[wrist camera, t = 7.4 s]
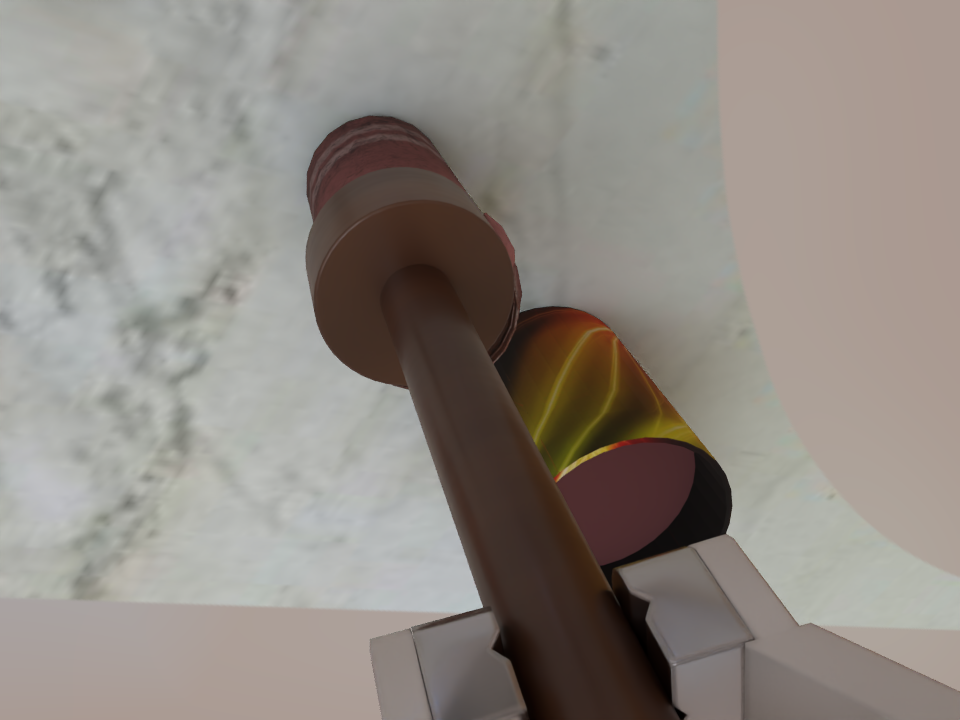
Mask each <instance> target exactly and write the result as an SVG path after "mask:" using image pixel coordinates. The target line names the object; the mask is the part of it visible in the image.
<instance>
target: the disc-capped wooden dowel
mask: <svg viewBox="0 0 960 720" xmlns="http://www.w3.org/2000/svg"><path fill="white" fill-rule="evenodd" d="M306 270H307V276H308V281H309V286H310V291H311V296H312V302H313V307H314V312H315V317H316V322H317V325H318V327H319V330H320V333H321V335H322V337H323V339H324V341H325V342H326V344H327V345H328V347H329V348H330V350H331V351H332V352H333V354H334V355H335V356H336V357H337V358H338V359H339V360H340V361H341V362H342V363H344V364H345V365H346V366H348V367H349V368H350V369H352V370H353V371H355V372H357V373H359V374H360V375H362V376H365V377H367V378H369V379H372V380H374V381H378V382H382V383H385V384H392V385H403V386H408V388H409V391H410V394H411V397H412V400H413V403H414V406H415V409H416V412H417V415H418V417H419V420H420V423H421V426H422V429H423V432H424V435H425V438H426V441H427V444H428V447H429V450H430V453H431V456H432V458H433V461H434V464H435V467H436V470H437V473H438V476H439V479H440V482H441V485H442V488H443V491H444V494H445V496H446V499H447V502H448V505H449V508H450V511H451V514H452V517H453V520H454V523H455V526H456V529H457V532H458V535H459V537H460V540H461V543H462V546H463V549H464V552H465V555H466V558H467V561H468V564H469V567H470V570H471V573H472V576H473V578H474V581H475V584H476V587H477V590H478V593H479V596H480V599H481V602H482V605H483V608H484V607H488V606H491V608H492V611H493V613H494V616H495V619H496V621H497V624H498V627H499V630H500V634H501V639H502V644H503V649H504V653H505V658H507V659H509V660H510V661H511V664H512V667H513V670H514V673H515V675H516V678H517V681H518V684H519V687H520V690H521V693H522V696H523V699H524V702H525V705H526V708H527V712H528V717H529V720H680V718H679V716H678V714H677V712H676V711H675V709H674V707H673V705H672V703H671V702H670V700H669V698H668V696H667V694H666V692H665V690H664V688H663V687H662V685H661V683H660V681H659V679H658V677H657V675H656V673H655V672H654V670H653V668H652V666H651V664H650V662H649V660H648V657H647V655H646V653H645V652H644V650H643V648H642V646H641V644H640V642H639V640H638V638H637V636H636V634H635V632H634V631H633V630H632V628H631V626H630V624H629V622H628V620H627V618H626V616H625V614H624V612H623V610H622V608H621V606H620V605H619V603H618V601H617V599H616V597H615V595H614V593H613V591H612V589H611V587H610V585H609V583H608V581H607V579H606V577H605V575H604V573H603V572H602V570H601V568H600V566H599V564H598V562H597V560H596V558H595V556H594V554H593V553H592V551H591V549H590V547H589V545H588V543H587V541H586V539H585V537H584V535H583V533H582V532H581V530H580V528H579V526H578V524H577V522H576V520H575V518H574V516H573V514H572V513H571V511H570V509H569V507H568V505H567V503H566V501H565V499H564V497H563V495H562V493H561V492H560V490H559V488H558V486H557V484H556V482H555V480H554V478H553V476H552V474H551V473H550V471H549V469H548V467H547V465H546V463H545V461H544V459H543V457H542V455H541V453H540V452H539V450H538V448H537V446H536V444H535V442H534V440H533V438H532V436H531V434H530V433H529V431H528V429H527V427H526V425H525V423H524V421H523V419H522V417H521V415H520V413H519V412H518V410H517V408H516V406H515V404H514V402H513V400H512V398H511V396H510V394H509V393H508V391H507V389H506V387H505V385H504V383H503V381H502V379H501V377H500V375H499V373H498V372H497V370H496V368H495V366H494V364H493V362H492V360H491V358H490V356H489V354H488V353H487V351H488V350H489V349H490V348H491V346H492V345H493V344H494V343H495V342H496V340H497V338H498V337H499V335H500V334H501V332H502V331H503V329H504V327H505V325H506V323H507V320H508V317H509V315H510V312H511V309H512V304H513V299H514V288H515V282H514V272H513V267H512V262H511V259H510V257H509V254H508V251H507V249H506V247H505V246H504V244H503V242H502V240H501V239H500V237H499V236H498V235H497V233H496V232H495V230H494V229H493V228H492V226H491V225H490V223H489V222H488V221H487V219H486V218H485V216H484V215H483V214H482V212H481V211H480V209H479V208H478V207H477V205H476V204H475V203H474V201H473V200H472V199H471V197H470V196H469V195H468V194H467V193H466V192H465V191H464V190H463V189H462V188H461V187H459V186H458V185H457V184H455V183H454V182H453V181H451V180H449V179H447V178H446V177H444V176H442V175H439V174H437V173H434V172H432V171H428V170H424V169H420V168H411V167H392V168H386V169H380V170H377V171H373V172H370V173H367V174H365V175H363V176H360V177H358V178H356V179H354V180H353V181H351V182H349V183H348V184H346V185H345V186H343V187H342V188H341V189H340V190H338V191H337V192H336V193H335V194H334V195H333V196H332V197H331V198H330V199H329V200H328V201H327V202H326V204H325V205H324V206H323V208H322V209H321V210H320V212H319V213H318V215H317V217H316V219H315V221H314V223H313V225H312V228H311V230H310V233H309V237H308V241H307V245H306Z"/></svg>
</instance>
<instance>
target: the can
mask: <svg viewBox="0 0 960 720" xmlns="http://www.w3.org/2000/svg"><path fill="white" fill-rule="evenodd" d="M392 167H411V168H420V169H424V170H428V171H432V172H434V173H437V174H439V175H442V176H444V177H446V178H447V179H449V180H451V181H453V182H454V183H455V184H457V185H458V186H459V187H461V188H462V189H463V190H464V191H465V189H464V188H463V186H462V185H461V184H460V182H459V181H458V179H457V178H456V176H455V175H454V174H453V172H452V171H451V169H450V168H449V167H448V165H447V164H446V162H445V161H444V159H443V158H442V157H441V155H440V154H439V152H438V151H437V149H436V148H435V147H434V145H433V144H432V142H431V141H430V140H429V138H427V137H426V136H425V135H424V134H423V133H421V132H420V131H419V130H418V129H417V128H415V127H414V126H413V125H411V124H409V123H406V122H404V121H401V120H398V119H396V118H393V117H384V116H367V117H363V118H359V119H356V120H352V121H348V122H346V123H345V124H343V125H342V126H340V127H339V128H337V129H336V130H334V131H333V132H331V133H330V134H328V135H327V137H326V138H325V139H324V140H323V142H322V143H321V144H320V145H319V147H318V148H317V149H316V151H315V152H314V155H313V157H312V160H311V163H310V166H309V168H308V171H307V198H308V202H309V206H310V210H311V214H312V219H313V223H314V221H315V219H316V217H317V215H318V213H319V212H320V210H321V209H322V208H323V206H324V205H325V204H326V202H327V201H328V200H329V199H330V198H331V197H332V196H333V195H334V194H335V193H336V192H337V191H338V190H340V189H341V188H342V187H343V186H345V185H346V184H348V183H349V182H351V181H353V180H354V179H356V178H358V177H360V176H363V175H365V174H367V173H370V172H373V171H377V170H380V169H386V168H392ZM465 192H466V191H465ZM466 193H467V192H466ZM467 194H468V193H467ZM484 216H485V218H486V219H487V221H488V222H489V223H490V225H491V226H492V228H493V229H494V230H495V232H496V233H497V235H498V236H499V237H500V239H501V240H502V242H503V244H504V246H505V247H506V249H507V251H508V254H509V257H510V259H511V262H512V267H513V272H514V282H515V288H514V299H513V304H512V309H511V312H510V315H509V317H508V320H507V323H506V325H505V327H504V329H503V331H502V332H501V334H500V335H499V337H498V338H497V340H496V342H495V343H494V344H493V345H492V346H491V348H490V349H489V350H488V351H487V353H488V354H489V356H490V358H491V360H492V362H493V364H494V363H495V362H496V361H497V360H498V359H499V357H500V356H501V355H502V354H503V353H504V352H505V351H506V349H507V347H508V344H509V342H510V340H511V338H512V336H513V334H514V332H515V330H516V325H517V320H518V318H519V311H520V304H521V297H522V289H521V284H520V279H519V274H518V269H517V266H516V264H515V263H514V262H515V250H514V247H513V246H512V244H511V242H510V240H509V238H508V237H507V235H506V233H505V231H504V229H503V227H502V226H501V225H500V224H498V223H497V222H496V221H495V220H494V219H493V218H491V217H490V216H489V215H488V214H487V213H484ZM393 386H397V387H401V388H405V389H409V388H408V386H403V385H393Z"/></svg>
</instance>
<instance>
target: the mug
mask: <svg viewBox="0 0 960 720" xmlns="http://www.w3.org/2000/svg"><path fill="white" fill-rule="evenodd" d="M494 366H495V368H496V370H497V372H498V373H499V375H500V377H501V379H502V381H503V383H504V385H505V387H506V389H507V391H508V393H509V394H510V396H511V398H512V400H513V402H514V404H515V406H516V408H517V410H518V412H519V413H520V415H521V417H522V419H523V421H524V423H525V425H526V427H527V429H528V431H529V433H530V434H531V436H532V438H533V440H534V442H535V444H536V446H537V448H538V450H539V452H540V453H541V455H542V457H543V459H544V461H545V463H546V465H547V467H548V469H549V471H550V473H551V474H552V476H553V478H554V480H555V482H556V484H557V486H558V488H559V490H560V492H561V493H562V495H563V497H564V499H565V501H566V503H567V505H568V507H569V509H570V511H571V513H572V514H573V516H574V518H575V520H576V522H577V524H578V526H579V528H580V530H581V532H582V533H583V535H584V537H585V539H586V541H587V543H588V545H589V547H590V549H591V551H592V553H593V554H594V556H595V558H596V560H597V562H598V564H599V566H600V568H601V570H602V572H603V573H604V575H605V577H606V579H607V581H608V583H609V585H610V587H611V589H612V591H613V588H612V577H611V576H612V571H613V568H616V567H619V566H623V565H626V564H629V563H632V562H636V561H639V560H642V559H645V558H648V557H652V556H655V555H658V554H661V553H665V552H668V551H671V550H674V549H678V548H681V547H684V546H686V547H688V546H689V545H691V544H695V543H698V542H701V541H704V540H708V539H711V538H714V537H718V536H721V535H724V534H726V532H727V529H728V526H729V524H730V517H731V511H732V496H731V488H730V485H729V482H728V479H727V476H726V474H725V473H724V471H723V470H722V468H721V467H720V465H719V464H718V462H717V461H716V460H715V458H714V457H713V456H712V455H711V453H710V452H709V451H708V450H707V448H706V447H705V446H704V445H703V444H702V442H701V441H700V440H699V439H698V437H697V436H696V435H695V434H694V432H693V431H692V430H691V429H690V427H689V426H688V425H687V424H686V422H685V421H684V420H683V419H682V417H681V416H680V415H679V414H678V412H677V411H676V410H675V409H674V407H673V406H672V405H671V404H670V402H669V401H668V400H667V399H666V397H665V396H664V395H663V394H662V392H661V391H660V390H659V389H658V387H657V386H656V385H655V384H654V382H653V381H652V380H651V379H650V377H649V376H648V375H647V374H646V373H645V371H644V370H643V369H642V368H641V366H640V365H639V364H638V363H637V361H636V360H635V359H634V358H633V356H632V355H631V354H630V353H629V351H628V350H627V349H626V348H625V346H624V345H623V344H622V343H621V341H620V340H619V339H618V338H617V336H616V335H615V334H614V333H613V331H612V330H611V329H610V328H609V327H608V326H606V325H605V324H604V323H603V322H602V321H601V320H600V319H598V318H596V317H594V316H592V315H590V314H588V313H586V312H584V311H580V310H576V309H573V308H567V307H553V306H552V307H544V308H535V309H532V310H528V311H525V312H522V313H519V318H518V320H517V325H516V330H515V332H514V334H513V336H512V338H511V340H510V342H509V344H508V347H507V349H506V351H505V352H504V353H503V354H502V355H501V356H500V357H499V359H498V360H497V361H496V362H495V363H494Z"/></svg>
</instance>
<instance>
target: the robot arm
mask: <svg viewBox="0 0 960 720" xmlns="http://www.w3.org/2000/svg"><path fill="white" fill-rule="evenodd" d="M611 577H612V588H613V593H614V595H615V597H616V599H617V601H618V603H619V605H620V606H621V608H622V610H623V612H624V614H625V616H626V618H627V620H628V622H629V624H630V626H631V628H632V630H633V631H634V632H635V634H636V636H637V638H638V640H639V642H640V644H641V646H642V648H643V650H644V652H645V653H646V655H647V657H648V660H649V662H650V664H651V666H652V668H653V670H654V672H655V673H656V675H657V677H658V679H659V681H660V683H661V685H662V687H663V688H664V690H665V692H666V694H667V696H668V698H669V700H670V702H671V703H672V705H673V707H674V709H675V711H676V712H677V714H678V716H679V718H680V720H960V691H957V690H955V689H953V688H951V687H949V686H947V685H944V684H942V683H940V682H938V681H936V680H934V679H931V678H929V677H927V676H925V675H923V674H921V673H918V672H916V671H914V670H912V669H909V668H907V667H905V666H903V665H901V664H899V663H897V662H895V661H892V660H890V659H888V658H886V657H884V656H882V655H879V654H877V653H875V652H873V651H871V650H869V649H866V648H864V647H862V646H860V645H858V644H856V643H853V642H851V641H849V640H847V639H845V638H843V637H840V636H838V635H836V634H834V633H832V632H830V631H827V630H825V629H823V628H821V627H819V626H817V625H814V624H812V623H809V624H805V625H801V626H799V625H798V623H797V622H796V621H795V619H794V618H793V617H792V615H791V614H790V613H789V611H788V610H787V609H786V607H785V606H784V605H783V603H782V602H781V601H780V599H779V598H778V597H777V595H776V594H775V593H774V591H773V590H772V589H771V588H770V586H769V585H768V584H767V582H766V581H765V580H764V578H763V577H762V576H761V574H760V573H759V572H758V570H757V569H756V568H755V566H754V565H753V564H752V562H751V561H750V560H749V558H748V557H747V556H746V554H745V553H744V552H743V550H742V549H741V548H740V546H739V545H738V544H737V542H736V541H735V540H734V538H732V537H730V536H729V535H727V534H724V535H721V536H718V537H714V538H711V539H708V540H704V541H701V542H698V543H695V544H691V545H689V546H688V547H686V546H684V547H681V548H678V549H674V550H671V551H668V552H665V553H661V554H658V555H655V556H652V557H648V558H645V559H642V560H639V561H636V562H632V563H629V564H626V565H623V566H619V567H616V568H613V571H612V576H611ZM411 628H412V631H411V629H410V628H409V629H405V630H402V631H398V632H394V633H391V634H387V635H383V636H380V637H376V638H372V639H370V655H371V661H372V666H373V672H374V678H375V683H376V689H377V694H378V700H379V705H380V710H381V716H382V720H529V717H528V712H527V708H526V705H525V702H524V699H523V696H522V693H521V690H520V687H519V684H518V681H517V678H516V675H515V673H514V670H513V667H512V664H511V661H510V660H509V659H507V658H505V653H504V649H503V644H502V639H501V634H500V630H499V627H498V624H497V621H496V619H495V616H494V613H493V611H492V608H491V606H488V607H484V608H480V609H477V610H473V611H469V612H465V613H462V614H458V615H454V616H451V617H447V618H444V619H440V620H436V621H432V622H428V623H425V624H421V625H417V626H414V627H411ZM412 632H413V635H412ZM413 637H414V638H413ZM414 641H415V642H414Z"/></svg>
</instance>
